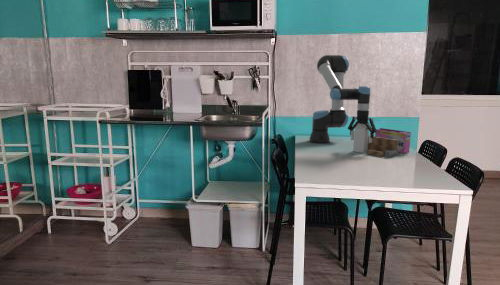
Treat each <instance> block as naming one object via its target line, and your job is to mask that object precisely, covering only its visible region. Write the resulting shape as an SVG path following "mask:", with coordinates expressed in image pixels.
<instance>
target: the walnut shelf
mask: <svg viewBox="0 0 500 285" xmlns="http://www.w3.org/2000/svg"><path fill="white" fill-rule="evenodd" d="M391 149H397V150H398V140H395V139H388V138H381V137H375V136H374V137H373V138H372V143H369V136H368V151H367V155H369V156H374V157H380V158H383V156H384V154H385V151H387V150H391ZM397 150H396V156H398V152H397Z"/></svg>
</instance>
